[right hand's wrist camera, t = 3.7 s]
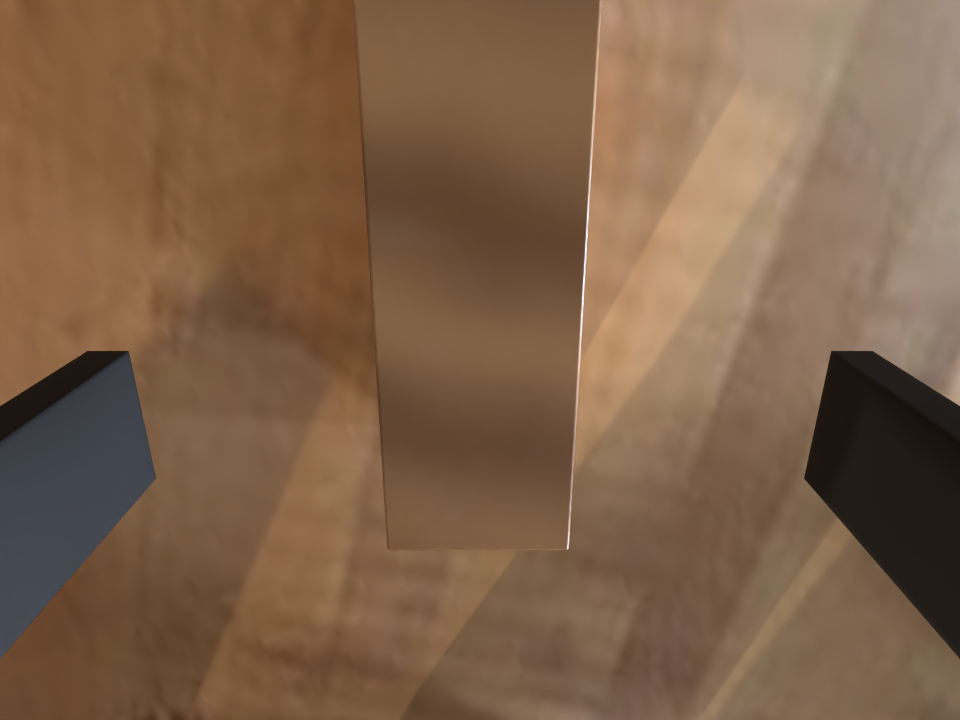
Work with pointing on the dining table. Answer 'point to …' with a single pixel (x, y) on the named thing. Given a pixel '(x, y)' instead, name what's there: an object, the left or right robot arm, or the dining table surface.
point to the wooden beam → (477, 260)
